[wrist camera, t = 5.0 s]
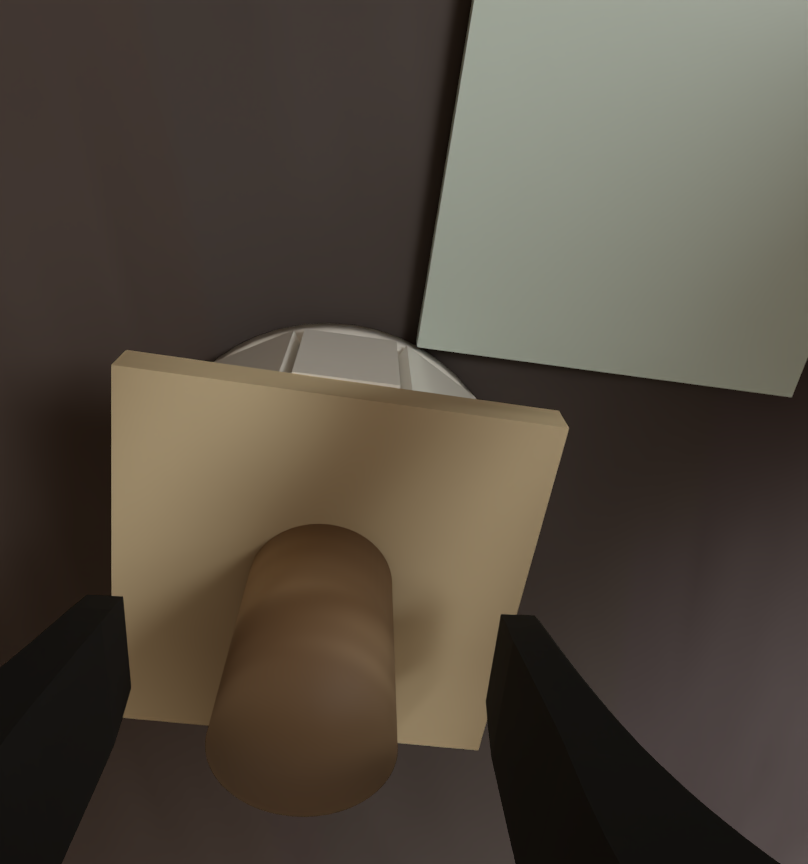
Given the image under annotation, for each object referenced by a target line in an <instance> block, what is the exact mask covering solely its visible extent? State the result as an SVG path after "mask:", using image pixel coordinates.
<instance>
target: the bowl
mask: <svg viewBox="0 0 808 864" xmlns="http://www.w3.org/2000/svg"><path fill="white" fill-rule="evenodd" d="M214 362H216V363H223V364H230V365H237V366H244V367H251V368H258V369H265V370H272V371H279V372H287V373H294V374H301V375H308V376H315V377H322V378H329V379H336V380H343V381H351V382H358V383H365V384H372V385H379V386H386V387H393V388H400V389H407V390H414V391H422V392H429V393H436V394H443V395H450V396H457V397H464V398H471V399H476V397H475V396H473V395H472V393H471V392H470V390H469V389H468V388H467V387H466V386H465V385H464V384H463V382H462V381H461V380H460V379H459V378H458V377H457V376H456V374H454V373H453V372H452V371H451V370H450V369H449V368H448V367H446V366H445V365H444V364H443V363H442V362H441V361H440V360H438V359H437V358H435V357H434V356H432V355H431V354H429V353H428V352H426V351H425V350H423V349H422V348H420V347H417V346H416V345H414V344H412V343H410V342H408V341H406V340H404V339H402V338H400V337H397V336H394V335H391V334H388V333H385V332H382V331H379V330H376V329H372V328H367V327H362V326H357V325H351V324H337V323H315V324H302V325H296V326H291V327H285V328H280V329H277V330H274V331H271V332H268V333H265V334H261V335H258V336H256V337H254V338H252V339H250V340H248V341H245V342H243V343H241V344H239V345H237V346H235V347H234V348H232V349H231V350H229V351H228V352H226V353H225V354H223V355H222V356H220V357H219V358H217V359H216V360H215V361H214Z"/></svg>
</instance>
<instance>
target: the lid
mask: <svg viewBox="0 0 808 864" xmlns="http://www.w3.org/2000/svg"><path fill="white" fill-rule="evenodd" d="M568 430H569V427H568V425H567V424H566V422H565V420H564V419H563V417H562V415H561V414H560V412H559V411H557V410H550V409H542V408H535V407H528V406H521V405H514V404H507V403H500V402H493V401H486V400H478V399H471V398H464V397H457V396H450V395H443V394H436V393H429V392H422V391H414V390H407V389H400V388H393V387H386V386H379V385H372V384H365V383H358V382H351V381H343V380H336V379H329V378H322V377H315V376H308V375H301V374H294V373H287V372H279V371H272V370H265V369H258V368H251V367H244V366H237V365H230V364H223V363H216V362H208V361H201V360H194V359H187V358H180V357H173V356H166V355H159V354H152V353H144V352H137V351H130V350H126V351H125V352H124V353H123V354H122V355H121V356H120V357H119V358H118V359H117V360H116V361H115V362H114V363H113V364H112V365H111V581H112V596H123V600H124V611H125V623H126V634H127V645H128V656H129V667H130V678H131V691H130V694H129V698H128V701H127V704H126V708H125V711H124V715H123V718H131V719H141V720H152V721H163V722H174V723H185V724H196V725H207V726H208V730H207V734H206V741H205V752H206V757H207V761H208V764H209V766H210V769H211V771H212V772H213V774H214V776H215V777H216V779H217V780H218V781H219V782H220V784H221V785H222V786H223V787H224V788H225V789H226V790H227V791H229V792H230V793H231V794H232V795H234V796H235V797H236V798H238V799H240V800H241V801H243V802H245V803H247V804H248V805H251V806H253V807H255V808H258V809H261V810H264V811H267V812H270V813H275V814H279V815H286V816H297V817H309V816H321V815H327V814H332V813H336V812H340V811H343V810H345V809H348V808H351V807H353V806H355V805H357V804H359V803H361V802H363V801H364V800H366V799H368V798H369V797H370V796H372V795H373V794H374V793H375V792H377V791H378V790H379V789H380V788H381V787H382V786H383V785H384V783H385V782H386V781H387V779H388V778H389V776H390V775H391V773H392V771H393V769H394V766H395V763H396V760H397V752H398V743H403V744H414V745H425V746H436V747H447V748H458V749H469V750H479V746H480V743H481V739H482V735H483V732H484V728H485V725H486V721H487V710H486V696H487V691H488V685H489V679H490V673H491V668H492V662H493V656H494V651H495V645H496V639H497V633H498V628H499V622H500V616H501V614H509V615H517V611H518V608H519V604H520V601H521V597H522V594H523V590H524V586H525V583H526V579H527V576H528V572H529V569H530V565H531V562H532V558H533V555H534V551H535V547H536V544H537V540H538V537H539V533H540V530H541V526H542V523H543V519H544V516H545V512H546V508H547V505H548V501H549V498H550V494H551V491H552V487H553V484H554V480H555V477H556V473H557V469H558V466H559V462H560V459H561V455H562V452H563V448H564V445H565V441H566V438H567V434H568Z"/></svg>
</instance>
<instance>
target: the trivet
mask: <svg viewBox="0 0 808 864" xmlns="http://www.w3.org/2000/svg"><path fill="white" fill-rule="evenodd" d="M416 345H417V347H420V348H427V349H434V350H442V351H449V352H457V353H464V354H472V355H479V356H487V357H494V358H501V359H509V360H516V361H524V362H531V363H539V364H546V365H554V366H561V367H569V368H576V369H583V370H591V371H598V372H606V373H613V374H621V375H628V376H636V377H643V378H651V379H658V380H665V381H673V382H680V383H688V384H695V385H703V386H710V387H718V388H725V389H733V390H740V391H747V392H755V393H762V394H770V395H777V396H785V397H792V396H793V393H794V391H795V388H796V386H797V383H798V381H799V378H800V376H801V373H802V371H803V368H804V365H805V363H806V360H807V358H808V0H472V3H471V9H470V16H469V22H468V28H467V34H466V40H465V46H464V52H463V58H462V64H461V70H460V76H459V83H458V89H457V95H456V101H455V107H454V113H453V119H452V125H451V131H450V137H449V143H448V150H447V156H446V162H445V168H444V174H443V180H442V186H441V192H440V198H439V204H438V210H437V216H436V223H435V229H434V235H433V241H432V247H431V253H430V259H429V265H428V271H427V277H426V283H425V290H424V296H423V302H422V308H421V314H420V320H419V326H418V332H417V338H416Z"/></svg>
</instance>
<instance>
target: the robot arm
mask: <svg viewBox="0 0 808 864" xmlns="http://www.w3.org/2000/svg"><path fill="white" fill-rule="evenodd" d="M130 691H131V678H130V667H129V656H128V645H127V634H126V623H125V611H124V600H123V596H103V595H86V596H85V597H84V598H83V599H81V600H80V601H79V602H78V603H76V604H75V605H74V606H73V607H72V608H70V609H69V610H68V611H67V612H66V613H64V614H63V615H62V616H61V617H60V618H59V619H57V620H56V621H55V622H54V623H53V624H52V625H50V626H49V627H48V628H47V629H46V630H45V631H44V632H42V633H41V634H40V635H39V636H38V637H36V638H35V639H34V640H33V641H32V642H31V643H29V644H28V645H27V646H26V647H25V648H24V649H22V650H21V651H20V652H19V653H17V654H16V655H15V656H14V657H13V658H11V659H10V660H9V661H8V662H7V663H5V664H4V665H3V666H2V667H0V864H62V861H63V859H64V857H65V855H66V852H67V850H68V848H69V846H70V843H71V841H72V839H73V837H74V835H75V832H76V830H77V828H78V826H79V823H80V821H81V819H82V817H83V814H84V812H85V810H86V808H87V805H88V803H89V801H90V799H91V796H92V794H93V792H94V790H95V787H96V785H97V783H98V781H99V778H100V776H101V774H102V771H103V769H104V767H105V765H106V762H107V760H108V758H109V755H110V753H111V751H112V748H113V746H114V743H115V740H116V737H117V734H118V731H119V728H120V724H121V721H122V718H123V715H124V711H125V708H126V704H127V701H128V698H129V694H130ZM486 710H487V720H488V731H489V739H490V748H491V757H492V761H493V766H494V771H495V775H496V780H497V784H498V789H499V793H500V798H501V802H502V806H503V811H504V815H505V819H506V824H507V828H508V833H509V837H510V841H511V846H512V850H513V854H514V859H515V863H516V864H780V863H778V862H777V861H776V860H774V859H773V858H771V857H770V856H769V855H767V854H766V853H765V852H763V851H762V850H761V849H759V848H758V847H757V846H755V845H754V844H753V843H751V842H750V841H749V840H747V839H746V838H745V837H743V836H742V835H741V834H740V833H738V832H737V831H736V830H735V829H733V828H732V827H731V826H730V825H728V824H727V823H726V822H725V821H724V820H722V819H721V818H720V817H719V816H717V815H716V814H715V813H714V812H712V811H711V810H710V809H709V808H708V807H706V806H705V805H704V804H703V803H702V802H701V801H699V800H698V799H697V798H696V797H695V796H694V795H692V794H691V793H690V792H689V791H688V790H687V789H686V788H685V787H684V786H682V785H681V784H680V783H679V782H678V781H677V780H676V779H675V778H674V777H673V776H672V775H671V774H670V773H669V772H667V771H666V770H665V769H664V768H663V767H662V766H661V765H660V764H659V763H658V762H657V761H656V760H655V759H654V758H653V757H652V756H651V755H650V754H649V753H648V752H647V751H646V750H645V749H644V748H643V747H642V746H641V745H640V744H639V743H638V742H637V741H636V740H635V739H634V738H633V736H632V735H631V734H630V733H629V732H628V731H627V730H626V729H625V728H624V727H623V726H622V725H621V723H620V722H619V721H618V720H617V719H616V718H615V717H614V715H613V714H612V713H611V712H610V711H609V710H608V709H607V707H606V706H605V705H604V704H603V702H602V701H601V700H600V699H599V698H598V696H597V695H596V694H595V693H594V692H593V690H592V689H591V688H590V687H589V686H588V684H587V683H586V682H585V681H584V679H583V678H582V677H581V676H580V674H579V673H578V672H577V671H576V669H575V668H574V667H573V665H572V664H571V663H570V661H569V660H568V659H567V658H566V656H565V655H564V654H563V652H562V651H561V650H560V648H559V647H558V646H557V644H556V643H555V642H554V640H553V639H552V638H551V636H550V635H549V633H548V632H547V631H546V629H545V628H544V627H543V625H542V624H541V623H540V621H539V620H538V619H537V618H536V617H535V616H530V615H509V614H501V616H500V622H499V628H498V633H497V639H496V645H495V651H494V656H493V662H492V668H491V673H490V679H489V685H488V691H487V696H486Z"/></svg>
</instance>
